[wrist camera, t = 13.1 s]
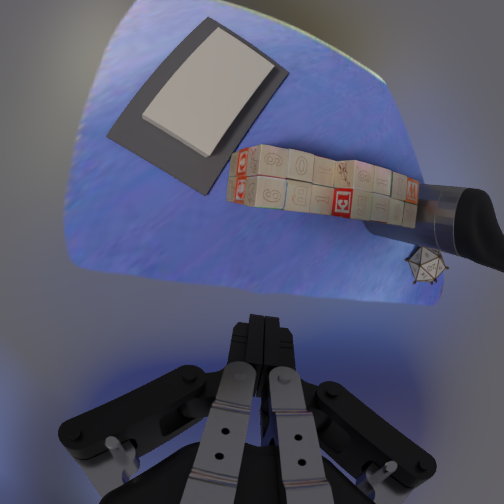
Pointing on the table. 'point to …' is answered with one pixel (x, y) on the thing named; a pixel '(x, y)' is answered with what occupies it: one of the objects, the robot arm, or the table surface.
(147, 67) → the table surface
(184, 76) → the tile
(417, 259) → the game die
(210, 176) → the mat
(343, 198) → the stack of blocks
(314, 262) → the table surface
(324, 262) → the table surface
